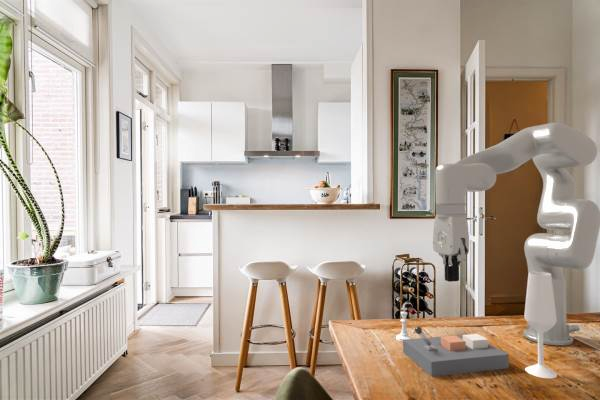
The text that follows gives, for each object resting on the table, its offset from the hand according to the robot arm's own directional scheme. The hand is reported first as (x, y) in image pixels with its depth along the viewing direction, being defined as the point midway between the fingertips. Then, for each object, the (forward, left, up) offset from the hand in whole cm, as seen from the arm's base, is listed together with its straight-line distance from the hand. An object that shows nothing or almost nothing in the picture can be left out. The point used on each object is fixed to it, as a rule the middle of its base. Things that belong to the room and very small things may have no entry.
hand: (451, 280), depth 102 cm
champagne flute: (-17, +11, -21) cm, 29 cm away
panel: (0, 0, -21) cm, 21 cm away
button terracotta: (0, 0, -18) cm, 18 cm away
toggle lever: (+6, 0, -17) cm, 18 cm away
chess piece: (+5, -17, -21) cm, 28 cm away
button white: (-7, 0, -18) cm, 19 cm away
